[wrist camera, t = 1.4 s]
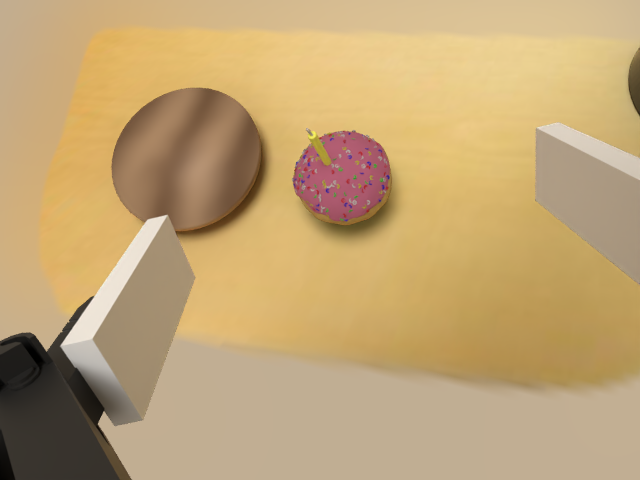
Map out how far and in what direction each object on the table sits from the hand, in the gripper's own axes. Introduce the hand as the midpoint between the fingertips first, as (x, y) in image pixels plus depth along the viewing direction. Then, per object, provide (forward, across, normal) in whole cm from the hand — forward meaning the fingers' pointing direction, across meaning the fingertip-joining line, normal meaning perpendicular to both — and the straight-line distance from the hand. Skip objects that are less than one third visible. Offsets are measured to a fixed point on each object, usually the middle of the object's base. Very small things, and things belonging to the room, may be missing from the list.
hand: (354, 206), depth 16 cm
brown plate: (+30, -14, -6) cm, 34 cm away
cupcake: (+25, 0, -10) cm, 27 cm away
